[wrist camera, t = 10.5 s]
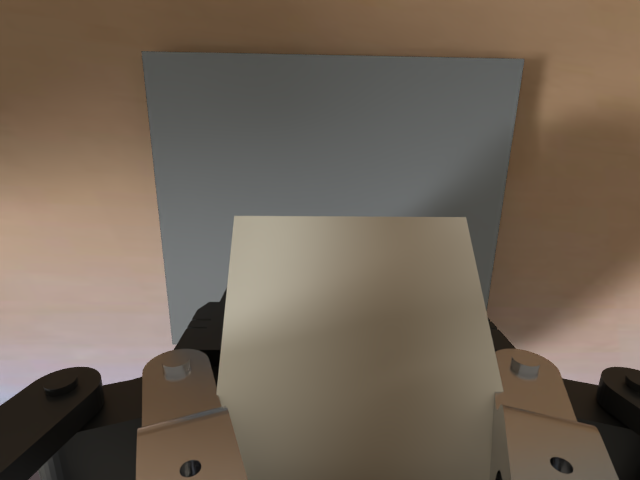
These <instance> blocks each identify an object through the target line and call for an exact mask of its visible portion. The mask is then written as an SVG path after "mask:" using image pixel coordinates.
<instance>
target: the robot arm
mask: <svg viewBox="0 0 640 480" xmlns="http://www.w3.org/2000/svg"><path fill="white" fill-rule="evenodd" d="M226 293H227V288H226V290H225V292H224V294H223V296H222V298H221V300H220V302H208V303H207V304H205V305H204V306H202V307H201V308H199V309H198V310H197V311H196V313H195V315H194V316H193V318H192V321H190V323H189V325H188V327H187V329H186V330H185V332H184V333H183V335H182V337H181V338H180V340H179V342H178V343H177V345H176V347H175V348H174V350H172V351H168V352H165V353H162V354H160V355H158V356H156V357H154V358H153V359H152V360H150V361H149V362H148V363H147V364H146V365H145V367H144V369H143V373H142V377H140V378H137V379H133V380H129V381H123V382H118V383H113V384H108V385H103V386H102V380H101V375H100V373H99V372H98V371H97V370H95V369H93V368H89V367H73V368H67V369H62V370H59V371H56V372H53V373H50V374H48V375H45V376H43V377H41V378H40V379H38V380H36V381H35V382H33V383H32V384H30V385H29V386H27V387H26V388H25V389H23V390H22V391H20V392H19V393H18V394H16V395H15V396H13V397H12V398H11V399H9V400H8V401H6V402H5V403H4V404H2V405H1V406H0V480H28V479H29V478H30V477H31V476H32V475H33V474H34V473H35V472H37V470H38V471H39V475H40V479H41V480H248V478H247V475H246V471H245V468H244V464H243V461H242V457H241V454H240V450H239V447H238V443H237V439H236V436H235V432H234V429H233V425H232V422H231V418H230V415H229V411H228V408H227V406H221V402H220V399H219V395H216V393H217V383H218V373H219V363H220V353H221V343H222V333H223V323H224V313H225V303H226ZM488 322H489V326H490V331H491V336H492V340H493V345H494V350H495V354H496V359H497V364H498V368H499V373H500V377H501V382H502V387H503V391H504V392H494V409H493V427H492V449H491V462H490V479H489V480H640V371H639V370H635V369H631V368H624V367H610V368H607V369H605V370H603V372H602V374H601V378H600V382H599V385H594V384H588V383H583V382H578V381H572V380H567V379H563V378H562V377H561V374H560V372H559V370H558V368H557V367H556V366H555V365H554V364H553V363H552V362H550V361H549V360H547V359H546V358H544V357H542V356H540V355H538V354H535V353H532V352H529V351H525V350H520V349H516V348H515V347H514V346H513V345H512V344H511V343H510V342H509V341H508V339H507V338H506V337H505V336H504V335H503V334H502V333H501V332H500V331H499V330H497V327H496V326H495V325H494V324H493V323H492V322H490V319H489V318H488Z"/></svg>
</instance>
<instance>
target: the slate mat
mask: <svg viewBox="0 0 640 480" xmlns="http://www.w3.org/2000/svg"><path fill="white" fill-rule="evenodd" d="M142 60H143V69H144V79H145V88H146V98H147V107H148V117H149V126H150V136H151V145H152V155H153V164H154V173H155V183H156V192H157V202H158V211H159V221H160V230H161V240H162V249H163V259H164V268H165V277H166V287H167V296H168V306H169V315H170V325H171V334H172V344H177V343H178V342H179V340H180V338H181V337H182V335H183V333H184V332H185V330H186V329H187V327H188V325H189V323H190V321H192V318H193V316H194V315H195V313H196V311H197V310H198V309H199V308H201V307H202V306H204V305H205V304H207V303H208V302H220V300H221V298H222V296H223V294H224V292H225V290H226V288H227V283H228V273H229V263H230V253H231V243H232V233H233V223H234V216H355V217H466V220H467V224H468V229H469V234H470V238H471V243H472V247H473V252H474V257H475V261H476V266H477V271H478V275H479V280H480V285H481V289H482V294H483V299H484V303H485V308H486V311H487V304H488V298H489V291H490V284H491V278H492V271H493V264H494V258H495V251H496V244H497V238H498V231H499V225H500V218H501V211H502V205H503V198H504V191H505V185H506V178H507V172H508V165H509V158H510V152H511V145H512V138H513V132H514V125H515V118H516V112H517V105H518V99H519V92H520V85H521V79H522V72H523V65H524V59H505V58H454V57H403V56H352V55H302V54H251V53H200V52H149V51H142Z"/></svg>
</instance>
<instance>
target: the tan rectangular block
mask: <svg viewBox="0 0 640 480" xmlns="http://www.w3.org/2000/svg"><path fill="white" fill-rule="evenodd" d="M494 392H504V391H503V387H502V382H501V377H500V373H499V368H498V364H497V359H496V354H495V350H494V345H493V340H492V336H491V331H490V326H489V322H488V317H487V312H486V308H485V303H484V299H483V294H482V289H481V285H480V280H479V275H478V271H477V266H476V261H475V257H474V252H473V247H472V243H471V238H470V234H469V229H468V224H467V220H466V217H355V216H234V223H233V233H232V243H231V253H230V263H229V273H228V283H227V293H226V303H225V313H224V323H223V333H222V343H221V353H220V363H219V373H218V383H217V393H216V395H219V399H220V402H221V406H227V408H228V411H229V415H230V418H231V422H232V425H233V429H234V432H235V436H236V439H237V443H238V447H239V450H240V454H241V457H242V461H243V464H244V468H245V471H246V475H247V478H248V480H489V479H490V462H491V449H492V427H493V409H494Z"/></svg>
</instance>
